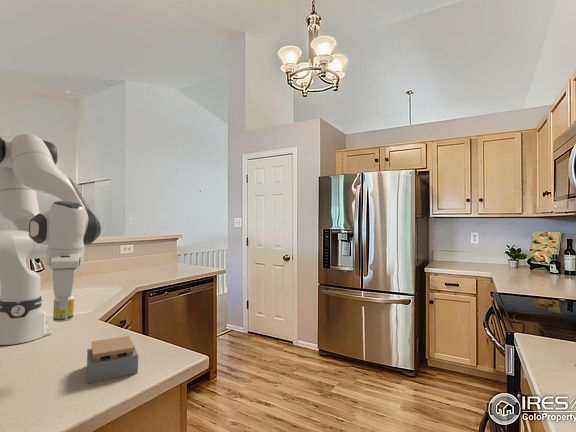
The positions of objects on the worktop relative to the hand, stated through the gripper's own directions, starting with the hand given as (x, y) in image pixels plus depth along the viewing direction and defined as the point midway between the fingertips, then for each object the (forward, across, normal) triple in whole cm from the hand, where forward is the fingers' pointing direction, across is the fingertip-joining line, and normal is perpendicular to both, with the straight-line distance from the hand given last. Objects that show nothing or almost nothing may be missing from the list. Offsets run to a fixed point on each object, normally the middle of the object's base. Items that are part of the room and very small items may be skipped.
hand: (63, 306), depth 93 cm
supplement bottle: (+4, 0, 0) cm, 4 cm away
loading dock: (+18, +7, +12) cm, 23 cm away
